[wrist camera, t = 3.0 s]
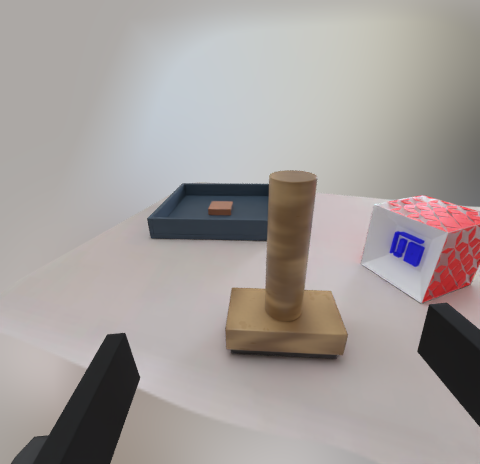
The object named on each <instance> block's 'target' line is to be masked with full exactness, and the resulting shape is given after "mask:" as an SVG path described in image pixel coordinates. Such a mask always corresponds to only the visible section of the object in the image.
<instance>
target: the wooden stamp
mask: <svg viewBox="0 0 480 464" xmlns="http://www.w3.org/2000/svg"><path fill="white" fill-rule="evenodd" d="M316 185H317V176H316V175H315V174H312V173H309V172H304V171H278V172H274V173H272V174H270V176H269V199H268V228H267V258H266V287H265V289H256V288H232V290H231V297H230V303H229V309H228V316H227V322H226V328H225V332H226V348H227V349H230V350H231V353H237V354H256V355H276V356H295V357H315V358H334V359H336V358H337V355H343V353H344V349H345V345H346V341H347V336H348V334H347V331H346V329H345V326H344V324H343V321H342V318H341V316H340V313H339V310H338V308H337V305H336V303H335V300H334V297H333V295H332V292H331V291H317V290H304V287H305V279H306V270H307V262H308V253H309V245H310V236H311V228H312V219H313V211H314V202H315V194H316Z"/></svg>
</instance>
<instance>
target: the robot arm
mask: <svg viewBox="0 0 480 464" xmlns="http://www.w3.org/2000/svg"><path fill="white" fill-rule="evenodd" d="M417 352H418V353H419V354H420V355H421V357H422V358H423V359H424V360H425V361H426V363H427V364H428V365H429V366H430V367H431V369H432V370H433V371H434V372H435V373H436V375H437V376H438V377H439V378H440V380H441V381H442V382H443V383H444V384H445V386H446V387H447V388H448V389H449V390H450V392H451V393H452V394H453V395H454V396H455V398H456V399H457V400H458V401H459V402H460V404H461V405H462V406H463V407H464V408H465V410H466V411H467V412H468V413H469V414H470V416H471V417H472V418H473V419H474V420H475V422H476V423H477V424H478V425H479V426H480V329H478V328H477V327H476V326H475V325H473V324H472V323H471V322H470V321H469V320H467V319H466V318H465V317H464V316H462V315H461V314H460V313H459V312H457V311H456V310H455V309H454V308H453V307H451V306H450V305H449V304H448V303H440V304H429V307H428V311H427V315H426V319H425V323H424V327H423V331H422V335H421V339H420V343H419V347H418V351H417ZM139 380H140V376H139V373H138V370H137V367H136V364H135V361H134V358H133V355H132V352H131V349H130V346H129V343H128V340H127V337H126V334H125V333H119V334H108V335H107V336H106V338H105V339H104V341H103V343H102V345H101V346H100V348H99V350H98V352H97V353H96V355H95V357H94V358H93V360H92V362H91V364H90V365H89V367H88V369H87V370H86V372H85V374H84V376H83V377H82V379H81V381H80V383H79V384H78V386H77V388H76V389H75V391H74V393H73V395H72V396H71V398H70V400H69V402H68V403H67V405H66V407H65V409H64V410H63V412H62V414H61V415H60V417H59V419H58V420H57V422H56V424H55V426H54V427H53V429H52V431H51V433H50V434H49V435H48V436H38V437H34V438H33V439H32V440H31V441H30V442H29V443H28V444H27V445H26V446H25V447H24V448H23V449H22V451H21V452H20V453H19V454H18V455H17V456H16V457H15V458H14V460H13V461H12V463H11V464H110V462H111V460H112V457H113V454H114V451H115V448H116V445H117V443H118V440H119V437H120V434H121V431H122V428H123V425H124V422H125V420H126V417H127V414H128V411H129V408H130V405H131V403H132V400H133V397H134V394H135V391H136V388H137V385H138V383H139Z"/></svg>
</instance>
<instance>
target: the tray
mask: <svg viewBox="0 0 480 464" xmlns="http://www.w3.org/2000/svg"><path fill="white" fill-rule="evenodd" d="M268 199H269V184H200V183H189V184H186V183H184V184H181V186H180V187H178V188H177V189H176V191H174V192H173V193H172V194H171V195H170V196H169V197H168V198H167V199H166V200H165V201H164V202H163V203H162V204H161V205H160V206H159V207H158V208H157V209H156V210H155V211H154V212H153V213H152V214H151V215H150V216H149V217H148V218H147V220H148V225H149V231H150V236H151V238H165V239H215V240H264V241H267V228H268ZM212 201H229V202H233V209H232V213H231V215H208V208H209V206H210V204H211V202H212Z"/></svg>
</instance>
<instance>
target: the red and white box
mask: <svg viewBox="0 0 480 464" xmlns="http://www.w3.org/2000/svg"><path fill="white" fill-rule="evenodd" d="M361 264H362V265H363V266H365V267H366V268H368V269H370V270H371V271H373V272H374V273H376V274H377V275H379V276H380V277H382V278H383V279H385V280H386V281H388V282H389V283H391V284H392V285H394V286H395V287H397V288H398V289H400V290H402V291H403V292H405V293H406V294H408V295H409V296H411V297H412V298H414V299H415V300H417V301H418V302H420V303H424V302H427V301H429V300H432V299H434V298H437V297H439V296H442V295H444V294H447V293H449V292H452V291H454V290H457V289H460V288H462V287H465V286H468V285H470V284H471V283H472V280H473V278H474V276H475V274H476V272H477V270H478V268H479V266H480V212H479V211H476V210H472V209H469V208H465V207H462V206H458V205H455V204H451V203H448V202H445V201H441V200H438V199H434V198H431V197H428V196H424V195H421V196H416V197H410V198H405V199H400V200H394V201H389V202H384V203H379V204H374V207H373V211H372V216H371V220H370V224H369V229H368V233H367V238H366V242H365V246H364V251H363V255H362V259H361Z"/></svg>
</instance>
